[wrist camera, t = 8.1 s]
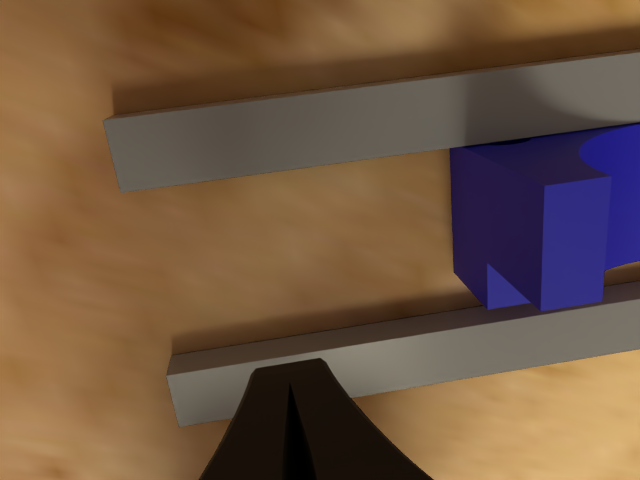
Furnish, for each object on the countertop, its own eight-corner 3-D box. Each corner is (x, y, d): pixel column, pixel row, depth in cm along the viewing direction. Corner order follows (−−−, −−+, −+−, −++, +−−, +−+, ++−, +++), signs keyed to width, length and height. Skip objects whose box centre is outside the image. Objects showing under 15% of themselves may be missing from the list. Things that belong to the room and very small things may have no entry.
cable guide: (885, 287, 21) (1025, 340, 17) (183, 404, 19) (165, 493, 15) (963, 8, 17) (1160, -4, 14) (113, 115, 15) (68, 136, 12)
